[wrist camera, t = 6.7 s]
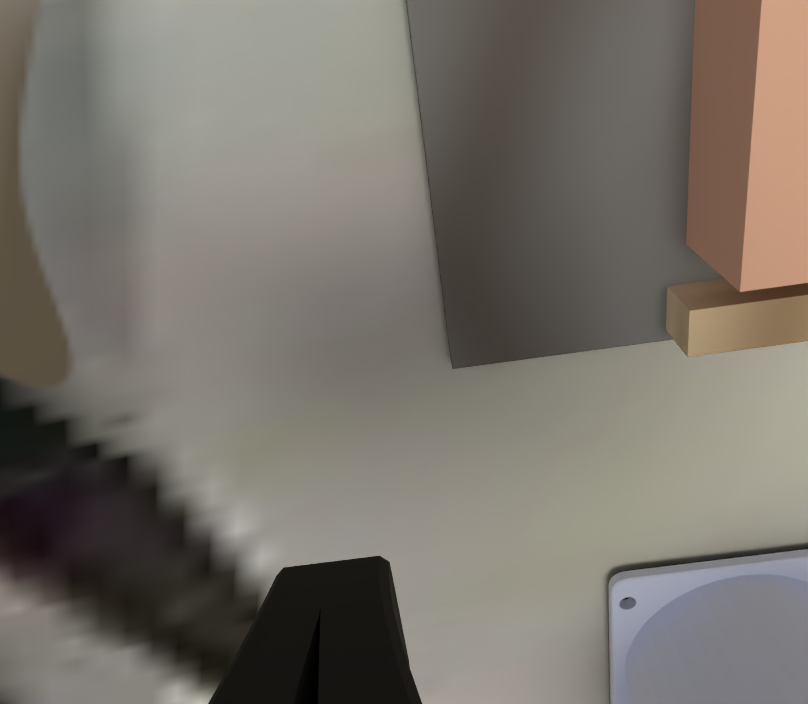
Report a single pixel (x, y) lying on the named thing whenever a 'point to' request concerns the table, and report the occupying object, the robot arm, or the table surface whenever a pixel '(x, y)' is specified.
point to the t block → (750, 141)
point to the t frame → (572, 182)
